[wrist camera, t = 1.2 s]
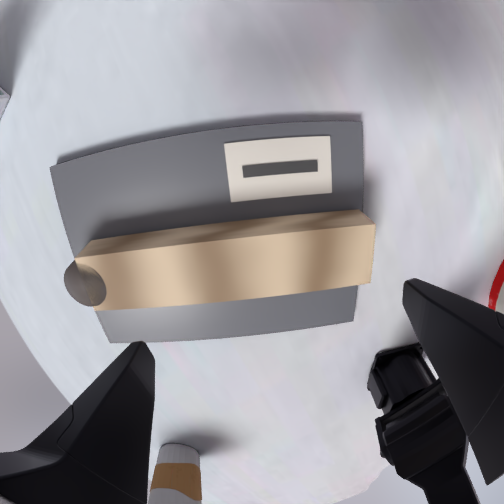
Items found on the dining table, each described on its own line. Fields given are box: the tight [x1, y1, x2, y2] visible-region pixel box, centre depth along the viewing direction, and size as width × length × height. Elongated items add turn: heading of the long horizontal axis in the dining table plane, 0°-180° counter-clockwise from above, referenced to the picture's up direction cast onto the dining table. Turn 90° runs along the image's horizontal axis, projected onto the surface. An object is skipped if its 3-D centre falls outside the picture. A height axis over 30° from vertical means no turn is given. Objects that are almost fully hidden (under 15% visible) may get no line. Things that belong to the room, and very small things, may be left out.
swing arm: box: [64, 209, 376, 311], centre depth 20 cm, size 22×4×3 cm, turn 96°
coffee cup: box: [148, 444, 202, 504], centre depth 31 cm, size 8×8×15 cm
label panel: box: [50, 121, 363, 343], centre depth 22 cm, size 23×17×1 cm
